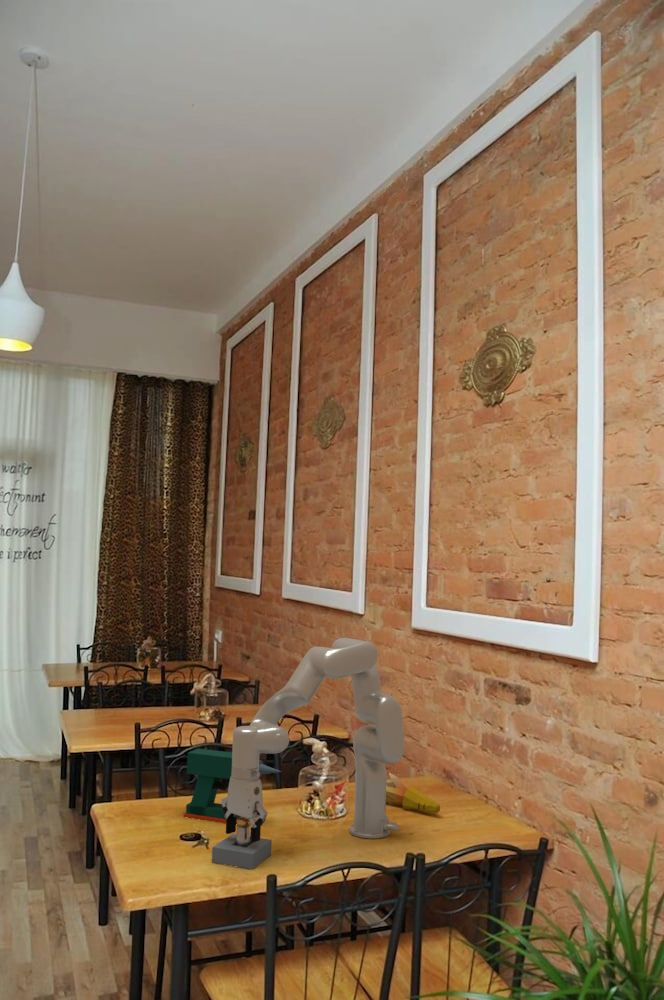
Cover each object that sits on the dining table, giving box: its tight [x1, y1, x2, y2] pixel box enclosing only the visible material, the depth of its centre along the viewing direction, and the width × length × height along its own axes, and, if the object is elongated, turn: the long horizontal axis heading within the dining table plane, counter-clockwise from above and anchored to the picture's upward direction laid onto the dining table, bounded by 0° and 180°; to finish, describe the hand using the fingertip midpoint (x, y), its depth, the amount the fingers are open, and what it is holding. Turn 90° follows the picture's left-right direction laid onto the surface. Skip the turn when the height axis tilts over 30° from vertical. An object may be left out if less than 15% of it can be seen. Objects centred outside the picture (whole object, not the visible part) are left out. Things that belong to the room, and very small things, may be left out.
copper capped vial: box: [236, 817, 252, 847], centre depth 218 cm, size 4×4×11 cm
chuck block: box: [211, 833, 273, 871], centre depth 218 cm, size 12×12×4 cm
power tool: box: [183, 748, 283, 824], centre depth 250 cm, size 32×7×20 cm, turn 71°
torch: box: [386, 772, 441, 814], centre depth 268 cm, size 8×8×25 cm
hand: (242, 837), depth 218 cm, fingers open, 9 cm apart
